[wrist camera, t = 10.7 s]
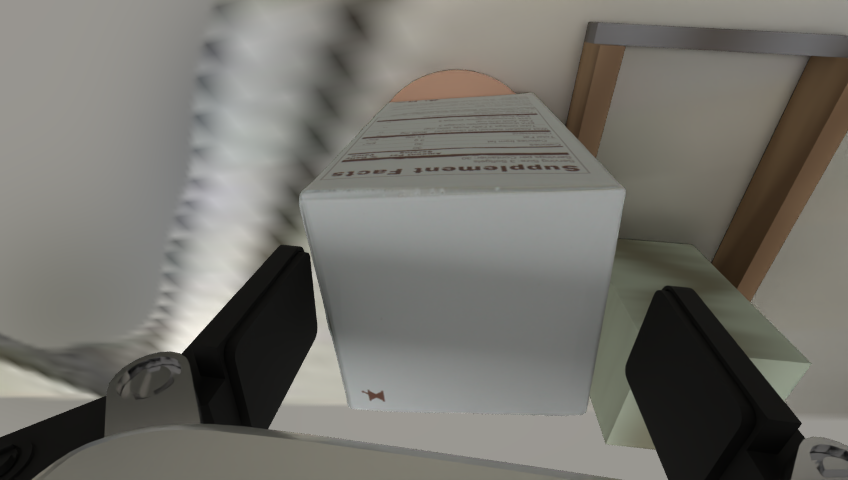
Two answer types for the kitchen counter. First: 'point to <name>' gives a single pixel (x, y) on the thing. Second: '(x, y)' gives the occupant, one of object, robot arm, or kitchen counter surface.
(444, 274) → the supplement box
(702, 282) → the rack
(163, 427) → the robot arm
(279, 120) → the kitchen counter surface
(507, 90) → the coaster
